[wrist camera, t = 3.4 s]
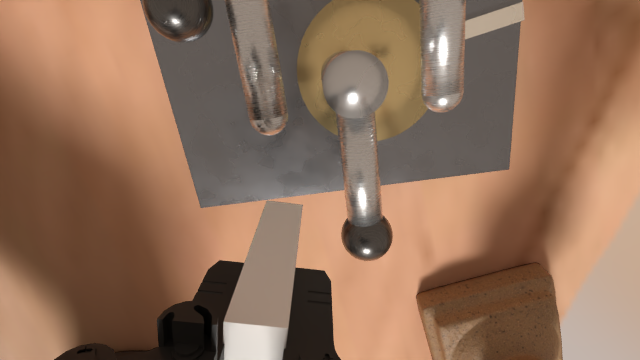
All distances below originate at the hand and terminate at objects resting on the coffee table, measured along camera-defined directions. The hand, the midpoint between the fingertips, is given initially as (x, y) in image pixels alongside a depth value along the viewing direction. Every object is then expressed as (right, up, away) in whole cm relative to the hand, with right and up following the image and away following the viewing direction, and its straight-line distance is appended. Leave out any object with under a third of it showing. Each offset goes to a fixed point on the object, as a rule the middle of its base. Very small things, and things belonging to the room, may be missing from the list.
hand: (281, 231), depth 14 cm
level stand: (+3, +10, +8) cm, 13 cm away
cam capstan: (+3, +8, +7) cm, 11 cm away
